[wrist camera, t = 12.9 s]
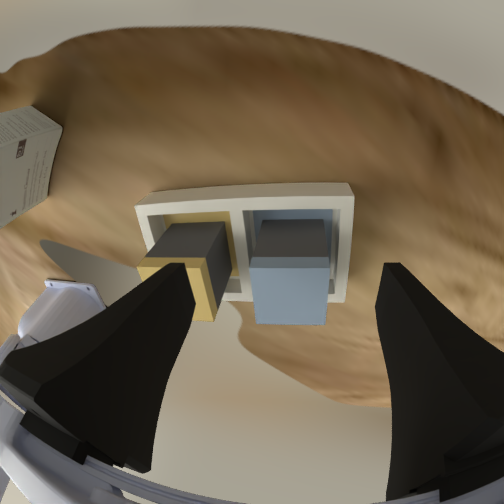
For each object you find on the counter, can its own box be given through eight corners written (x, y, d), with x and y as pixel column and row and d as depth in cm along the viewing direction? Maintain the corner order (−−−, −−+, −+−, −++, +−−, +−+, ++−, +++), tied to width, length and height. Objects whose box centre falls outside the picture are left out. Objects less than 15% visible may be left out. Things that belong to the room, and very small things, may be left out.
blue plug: (266, 269, 21) (256, 323, 16) (262, 219, 19) (248, 268, 14) (321, 269, 20) (325, 325, 16) (323, 219, 18) (330, 268, 13)
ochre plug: (183, 268, 22) (156, 316, 17) (171, 223, 20) (136, 266, 15) (232, 269, 21) (213, 321, 17) (224, 221, 19) (200, 268, 15)
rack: (174, 278, 24) (163, 297, 22) (150, 192, 20) (134, 205, 18) (341, 280, 21) (344, 302, 19) (347, 182, 17) (354, 196, 15)
